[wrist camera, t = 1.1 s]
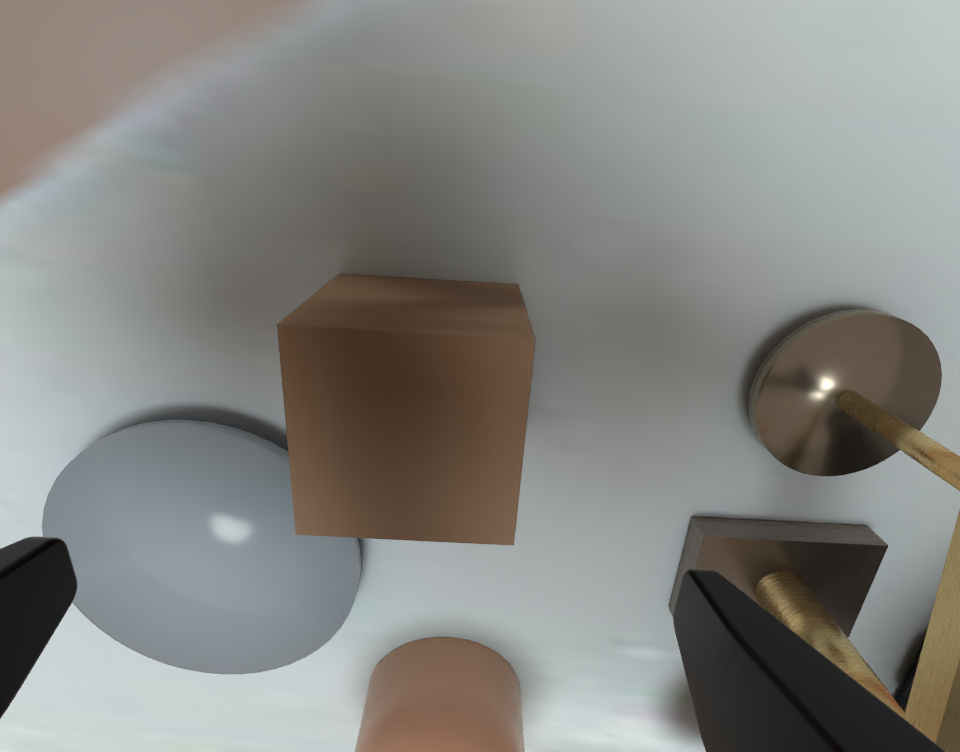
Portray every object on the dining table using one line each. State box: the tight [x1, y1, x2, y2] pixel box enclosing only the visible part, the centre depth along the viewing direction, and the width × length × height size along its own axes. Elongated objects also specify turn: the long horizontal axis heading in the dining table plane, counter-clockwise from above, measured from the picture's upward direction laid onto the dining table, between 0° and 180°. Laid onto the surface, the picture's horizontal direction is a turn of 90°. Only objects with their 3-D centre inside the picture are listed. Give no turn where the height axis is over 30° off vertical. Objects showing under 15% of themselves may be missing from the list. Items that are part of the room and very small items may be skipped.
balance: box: [669, 309, 960, 752], centre depth 15 cm, size 6×19×9 cm, turn 177°
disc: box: [42, 420, 361, 674], centre depth 18 cm, size 10×10×1 cm
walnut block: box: [277, 274, 535, 545], centre depth 14 cm, size 5×5×5 cm
